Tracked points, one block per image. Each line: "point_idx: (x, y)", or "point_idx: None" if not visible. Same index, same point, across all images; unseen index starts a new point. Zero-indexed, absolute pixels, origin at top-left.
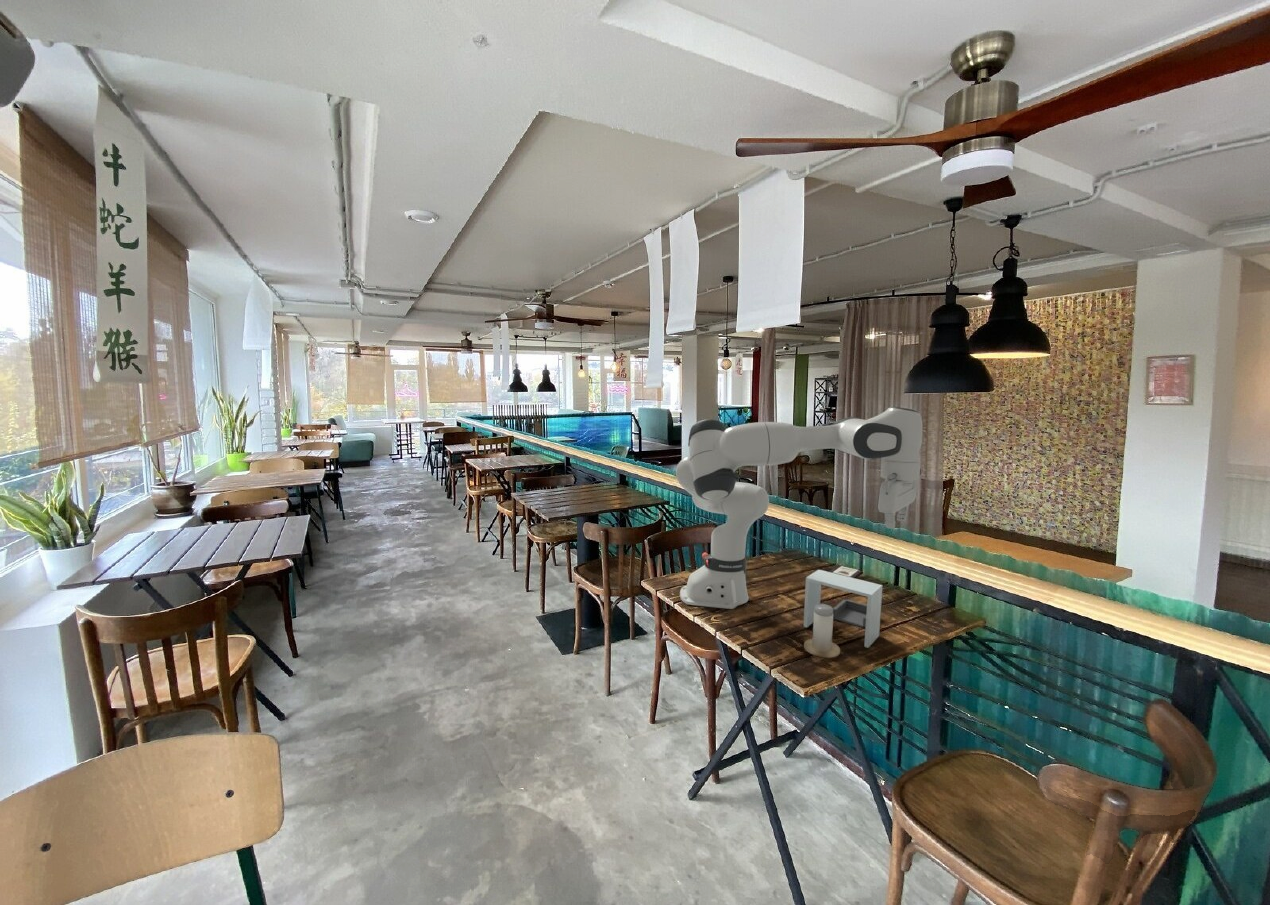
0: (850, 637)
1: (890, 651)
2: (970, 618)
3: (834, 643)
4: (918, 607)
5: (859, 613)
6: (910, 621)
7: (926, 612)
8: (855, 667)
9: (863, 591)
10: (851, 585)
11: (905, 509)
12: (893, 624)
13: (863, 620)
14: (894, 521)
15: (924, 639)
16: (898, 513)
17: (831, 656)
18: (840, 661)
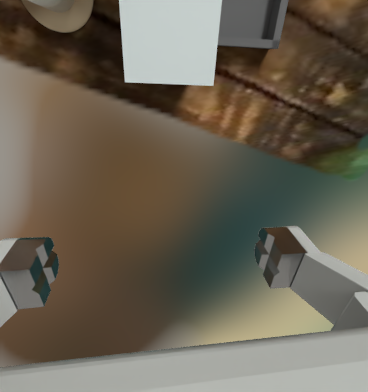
0: None
1: (148, 106)
2: (328, 170)
3: (91, 9)
4: (345, 101)
5: (263, 10)
6: (279, 104)
7: (328, 117)
8: (49, 74)
9: (132, 54)
10: (154, 4)
11: (330, 311)
12: (252, 83)
13: None
14: (11, 313)
15: (223, 136)
16: (304, 256)
17: (41, 22)
18: (44, 44)
